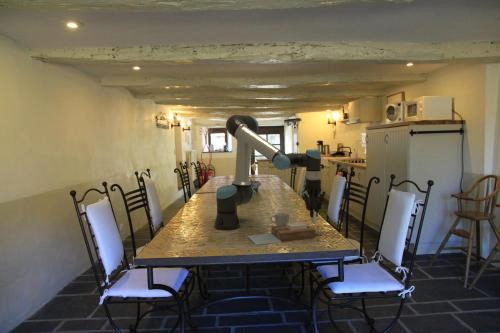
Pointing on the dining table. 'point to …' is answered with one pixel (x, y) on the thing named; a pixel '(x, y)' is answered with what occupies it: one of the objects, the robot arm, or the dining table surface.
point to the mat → (264, 239)
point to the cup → (280, 218)
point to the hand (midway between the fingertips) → (313, 223)
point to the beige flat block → (296, 226)
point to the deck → (292, 233)
